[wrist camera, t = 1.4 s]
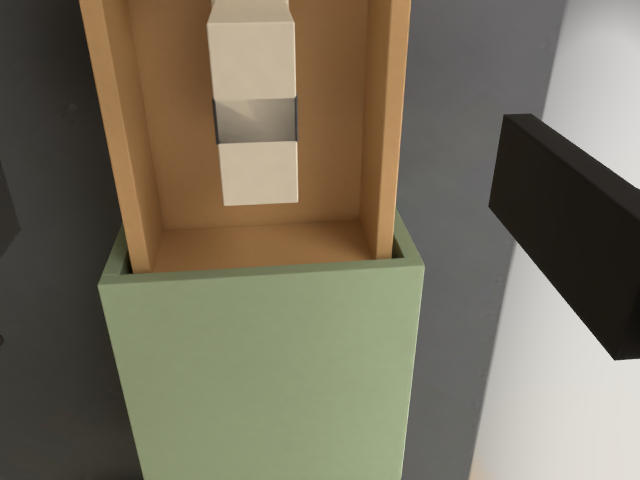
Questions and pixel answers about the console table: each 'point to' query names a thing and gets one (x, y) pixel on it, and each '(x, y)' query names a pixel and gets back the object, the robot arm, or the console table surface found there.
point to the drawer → (202, 151)
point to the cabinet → (267, 365)
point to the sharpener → (254, 100)
